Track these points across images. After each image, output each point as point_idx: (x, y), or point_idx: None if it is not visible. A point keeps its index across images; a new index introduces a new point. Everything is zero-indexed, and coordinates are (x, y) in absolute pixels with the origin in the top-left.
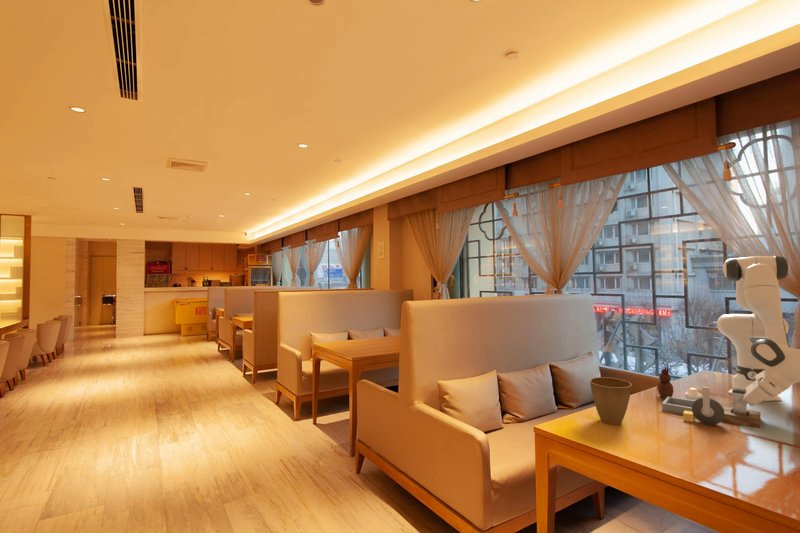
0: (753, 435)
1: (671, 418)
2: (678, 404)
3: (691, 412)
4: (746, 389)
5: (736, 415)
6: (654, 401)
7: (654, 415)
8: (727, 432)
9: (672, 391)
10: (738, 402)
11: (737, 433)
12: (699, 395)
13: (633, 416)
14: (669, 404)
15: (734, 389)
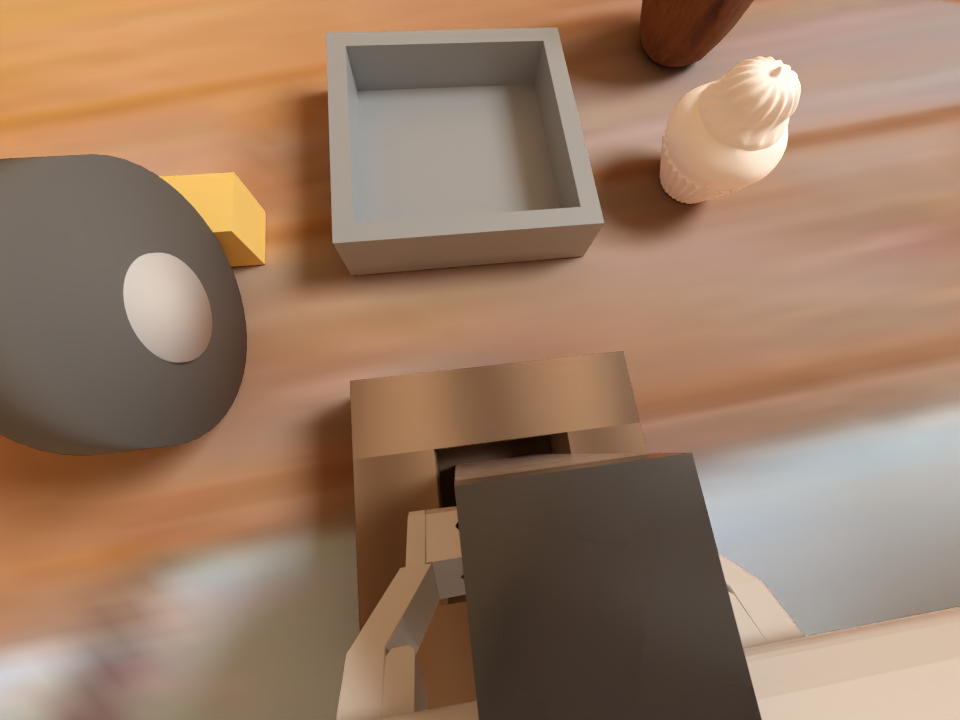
0: (105, 679)
1: (190, 158)
2: (536, 124)
3: (203, 217)
4: (840, 706)
5: (370, 511)
6: (521, 24)
7: (191, 79)
8: (66, 499)
9: (698, 20)
10: (406, 553)
11: (85, 564)
12: (727, 165)
13: (84, 7)
14: (328, 71)
15: (492, 525)
